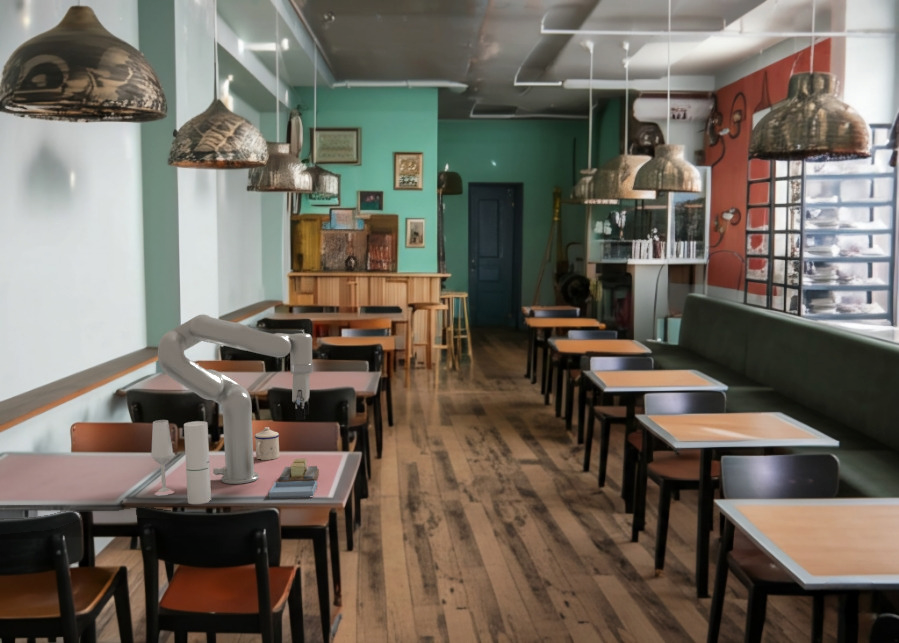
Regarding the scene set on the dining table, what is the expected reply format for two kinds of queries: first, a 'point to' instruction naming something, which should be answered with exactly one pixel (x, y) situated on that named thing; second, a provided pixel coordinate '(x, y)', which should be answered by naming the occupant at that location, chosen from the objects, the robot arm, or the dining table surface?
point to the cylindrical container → (197, 462)
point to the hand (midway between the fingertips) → (302, 417)
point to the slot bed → (310, 475)
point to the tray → (293, 489)
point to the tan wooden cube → (297, 470)
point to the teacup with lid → (267, 444)
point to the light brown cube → (301, 462)
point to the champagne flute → (161, 447)
